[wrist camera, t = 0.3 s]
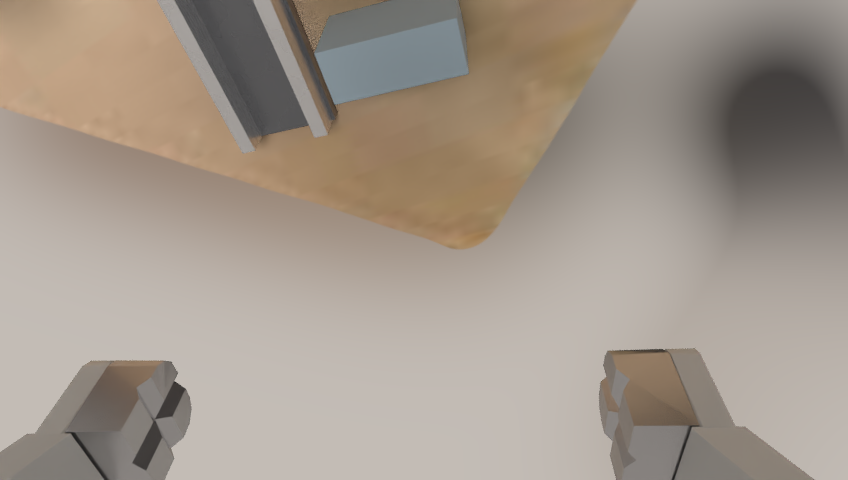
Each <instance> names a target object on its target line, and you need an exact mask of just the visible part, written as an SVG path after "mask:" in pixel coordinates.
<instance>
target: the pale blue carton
mask: <svg viewBox="0 0 848 480" xmlns="http://www.w3.org/2000/svg"><path fill="white" fill-rule="evenodd" d="M314 55H315V57H316V60H317V62H318V65H319V67H320V70H321V72H322V75H323V77H324V80H325V82H326V85H327V87H328V90H329V92H330V94H331V97H332V99H333V102H334V104H335V105H336V104H341V103H345V102H349V101H354V100H358V99H362V98H367V97H371V96H375V95H380V94H384V93H388V92H393V91H397V90H401V89H406V88H410V87H414V86H419V85H423V84H427V83H432V82H436V81H441V80H445V79H449V78H454V77H458V76H462V75H467V74H469V69H468V57H467V44H466V34H465V29H464V24H463V20H462V15H461V10H460V5H459V1H458V0H389V1H386V2H382V3H378V4H374V5H370V6H366V7H363V8H359V9H355V10H351V11H347V12H343V13H340V14H336V15H332V16H329V18H328V20H327V23H326V25H325V28H324V30H323V33H322V35H321V38H320V40H319V43H318V45H317V48H316V50H315V53H314Z"/></svg>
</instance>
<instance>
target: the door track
mask: <svg viewBox="0 0 848 480" xmlns="http://www.w3.org/2000/svg"><path fill="white" fill-rule="evenodd" d="M157 1H158V3H159V5H160V7H161V8H162V10H163V12H164V14H165V15H166V17H167V19H168V21H169V23H170V24H171V26H172V28H173V30H174V32H175V33H176V35H177V37H178V39H179V41H180V42H181V44H182V46H183V48H184V49H185V51H186V53H187V55H188V57H189V58H190V60H191V62H192V64H193V66H194V67H195V69H196V71H197V73H198V74H199V76H200V78H201V80H202V82H203V83H204V85H205V87H206V89H207V91H208V92H209V94H210V96H211V98H212V99H213V101H214V103H215V105H216V107H217V108H218V110H219V112H220V114H221V116H222V117H223V119H224V121H225V123H226V124H227V126H228V128H229V130H230V132H231V133H232V135H233V137H234V139H235V141H236V142H237V144H238V146H239V148H240V150H241V151H242V153H247V152H252V151H256V148H257V146H258V144H259V142H260V140H261V137H262V136H263V135H268V134H272V133H277V132H281V131H285V130H290V129H294V128H299V127H303V126H308V125H309V127H310V129H311V131H312V133H313V135H314V138H315V137H320V136H325V135H328V133H329V129H330V126H331V122H332V120H334V119H336V115H337V110H336V108H335V105H334V103H333V100H332V98H331V95H330V93H329V90H328V88H327V85H326V83H325V80H324V78H323V75H322V73H321V70H320V68H319V65H318V63H317V61H316V58H315V56H314V53H313V51H312V48H311V46H310V43H309V41H308V38H307V36H306V33H305V31H304V28H303V26H302V23H301V21H300V18H299V16H298V13H297V11H296V8H295V6H294V4H293V1H292V0H157Z"/></svg>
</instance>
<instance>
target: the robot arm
mask: <svg viewBox="0 0 848 480" xmlns="http://www.w3.org/2000/svg"><path fill="white" fill-rule="evenodd" d="M603 366H604V369H605V373H606V378H605V379H604V380H602V381H601V383H600V391H599V406H600V415H601V421H602V425H603V429H604V433H605V434H606V435H607V436H608V437H609V438H610V439H611V440H612V441H613V443H612V448H611V453H610V457H611V461H612V465H613V469H614V473H615V476H616V480H814V479H813V478H812V477H810V476H809V475H807V474H806V473H805V472H804V471H802V470H801V469H800V468H798V467H797V466H796V465H794V464H793V463H792V462H791V461H789V460H788V459H787V458H785V457H784V456H783V455H781V454H780V453H778V452H777V451H776V450H775V449H774V448H772V447H771V446H770V445H768V444H767V443H766V442H764V441H763V440H762V439H760V438H759V437H758V436H756V435H755V434H754V433H752V432H751V431H750V430H749V429H747V428H746V427H739V426H735V424H734V422H733V420H732V418H731V416H730V414H729V412H728V410H727V408H726V406H725V404H724V402H723V399H722V397H721V396H720V393H719V392H718V389H717V387H716V385H715V383H714V381H713V379H712V377H711V375H710V373H709V371H708V369H707V367H706V365H705V362H704V360H703V358H702V356H701V354H700V353H699V352H698V351H697V350H696V349H695V348H693V349H665V350H663V349H650V350H617V351H607V353H606V355H605V359H604V364H603ZM177 374H178V372H177V371H176V369H175V367H174V365H173V364H172V362H169V361H90V362H89V363H87V364H85V365H84V366H82V368H81V369H80V370H79V372H78V373H77V375H76V376H75V378H74V379H73V380H72V382H71V383H70V385H69V386H68V388H67V389H66V390H65V392H64V393H63V395H62V396H61V397H60V399H59V400H58V402H57V403H56V404H55V406H54V407H53V409H52V410H51V412H50V413H49V414H48V416H47V417H46V419H45V420H44V421H43V423H42V424H41V426H40V427H39V429H38V430H37V432H36V433H35V434H26V435H25V436H23V437H22V438H20V439H19V440H17V441H16V442H14V443H13V444H11V445H10V446H9V447H7V448H6V449H4V450H3V451H1V452H0V480H165V478H166V475H167V473H168V471H169V469H170V466H171V464H172V462H173V460H174V456H173V453H172V450H171V447H173V446H174V445H175V444H176V443H177V442H178V441H180V440H181V439H182V438H183V437H184V435H185V433H186V430H187V428H188V425H189V422H190V415H191V402H190V397H189V395H188V393H187V390H186V389H185V388H184V387H182V386H181V385H179V384H178V383H176V382H175V381H174V380H175V378H176V376H177Z"/></svg>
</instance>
